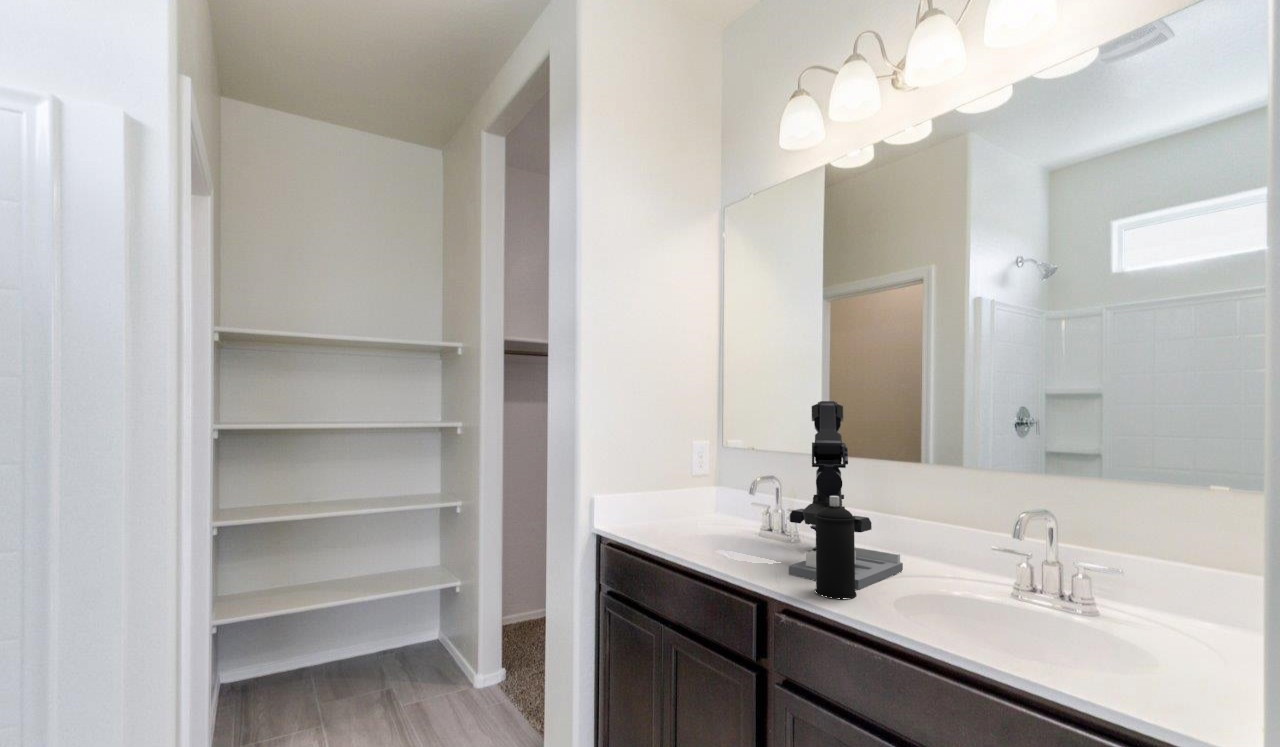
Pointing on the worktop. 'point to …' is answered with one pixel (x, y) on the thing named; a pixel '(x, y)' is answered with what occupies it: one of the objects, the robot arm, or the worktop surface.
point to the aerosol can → (835, 551)
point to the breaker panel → (861, 567)
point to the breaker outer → (811, 559)
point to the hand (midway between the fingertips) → (829, 556)
